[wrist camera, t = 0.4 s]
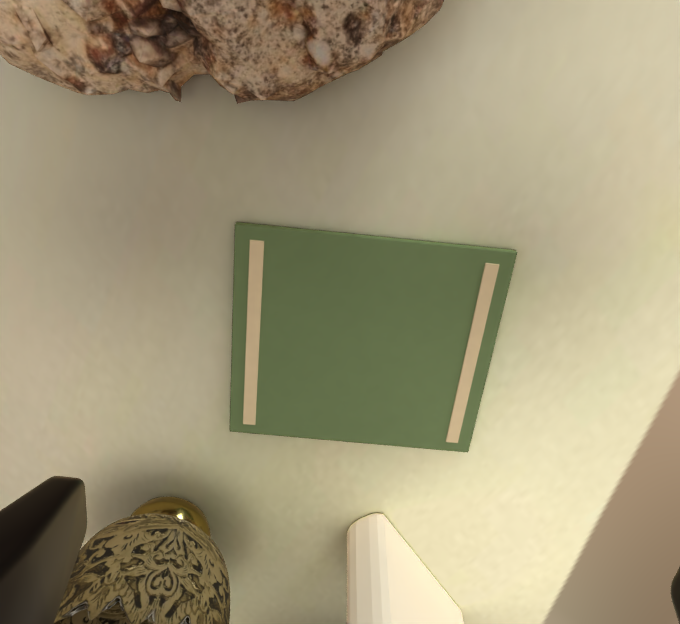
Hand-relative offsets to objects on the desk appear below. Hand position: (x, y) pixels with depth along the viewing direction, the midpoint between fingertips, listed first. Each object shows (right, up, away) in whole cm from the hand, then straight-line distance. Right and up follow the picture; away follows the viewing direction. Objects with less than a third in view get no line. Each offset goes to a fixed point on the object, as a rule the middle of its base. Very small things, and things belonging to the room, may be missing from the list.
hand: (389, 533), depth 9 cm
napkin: (0, +2, +15) cm, 15 cm away
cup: (-8, -6, +19) cm, 22 cm away
